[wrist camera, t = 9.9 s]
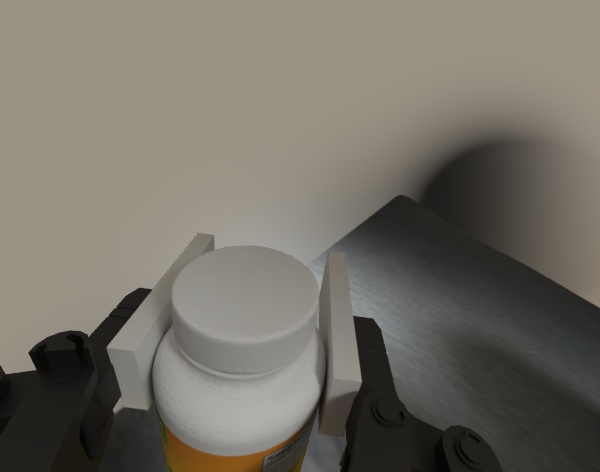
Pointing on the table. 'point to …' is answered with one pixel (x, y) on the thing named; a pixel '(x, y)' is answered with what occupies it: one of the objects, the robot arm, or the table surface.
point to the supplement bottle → (240, 363)
